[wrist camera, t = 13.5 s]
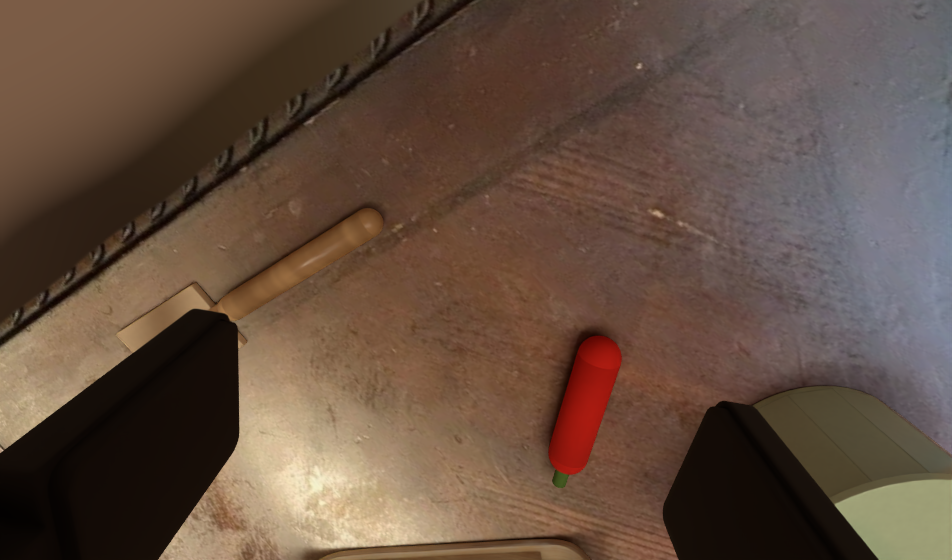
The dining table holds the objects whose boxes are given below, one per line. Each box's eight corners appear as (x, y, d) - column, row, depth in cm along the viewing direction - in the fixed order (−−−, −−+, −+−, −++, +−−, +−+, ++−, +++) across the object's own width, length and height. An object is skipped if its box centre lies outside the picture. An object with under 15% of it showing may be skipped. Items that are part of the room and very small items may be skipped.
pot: (744, 368, 32) (826, 456, 24) (948, 406, 33) (1092, 504, 25) (673, 524, 38) (720, 638, 30) (849, 554, 38) (942, 675, 30)
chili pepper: (598, 350, 29) (636, 349, 30) (575, 327, 31) (611, 327, 32) (550, 500, 33) (584, 496, 34) (533, 470, 35) (566, 467, 36)
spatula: (358, 175, 28) (350, 180, 27) (407, 246, 30) (402, 255, 28) (121, 330, 33) (101, 343, 31) (173, 385, 35) (157, 400, 33)
